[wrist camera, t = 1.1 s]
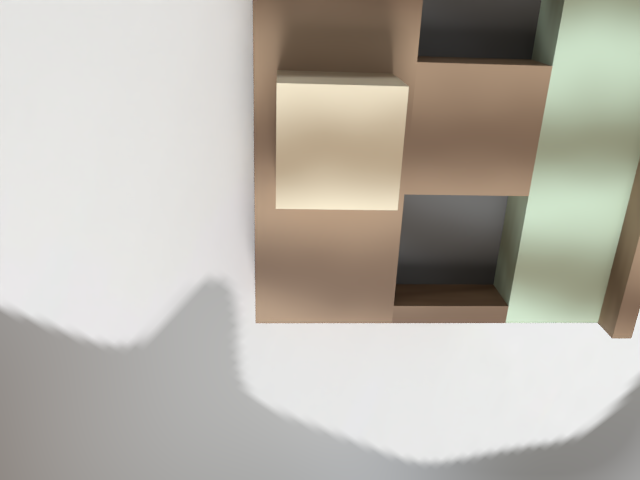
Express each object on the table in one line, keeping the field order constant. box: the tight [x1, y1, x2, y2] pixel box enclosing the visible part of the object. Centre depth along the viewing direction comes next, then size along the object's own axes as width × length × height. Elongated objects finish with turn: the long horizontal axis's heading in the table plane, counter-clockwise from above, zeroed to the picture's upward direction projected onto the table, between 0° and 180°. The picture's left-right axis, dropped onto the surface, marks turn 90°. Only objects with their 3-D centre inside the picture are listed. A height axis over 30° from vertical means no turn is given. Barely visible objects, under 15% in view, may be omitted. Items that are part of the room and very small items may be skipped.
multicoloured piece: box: [253, 0, 640, 338], centre depth 28 cm, size 20×19×4 cm
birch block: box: [276, 70, 409, 210], centre depth 25 cm, size 5×5×4 cm
